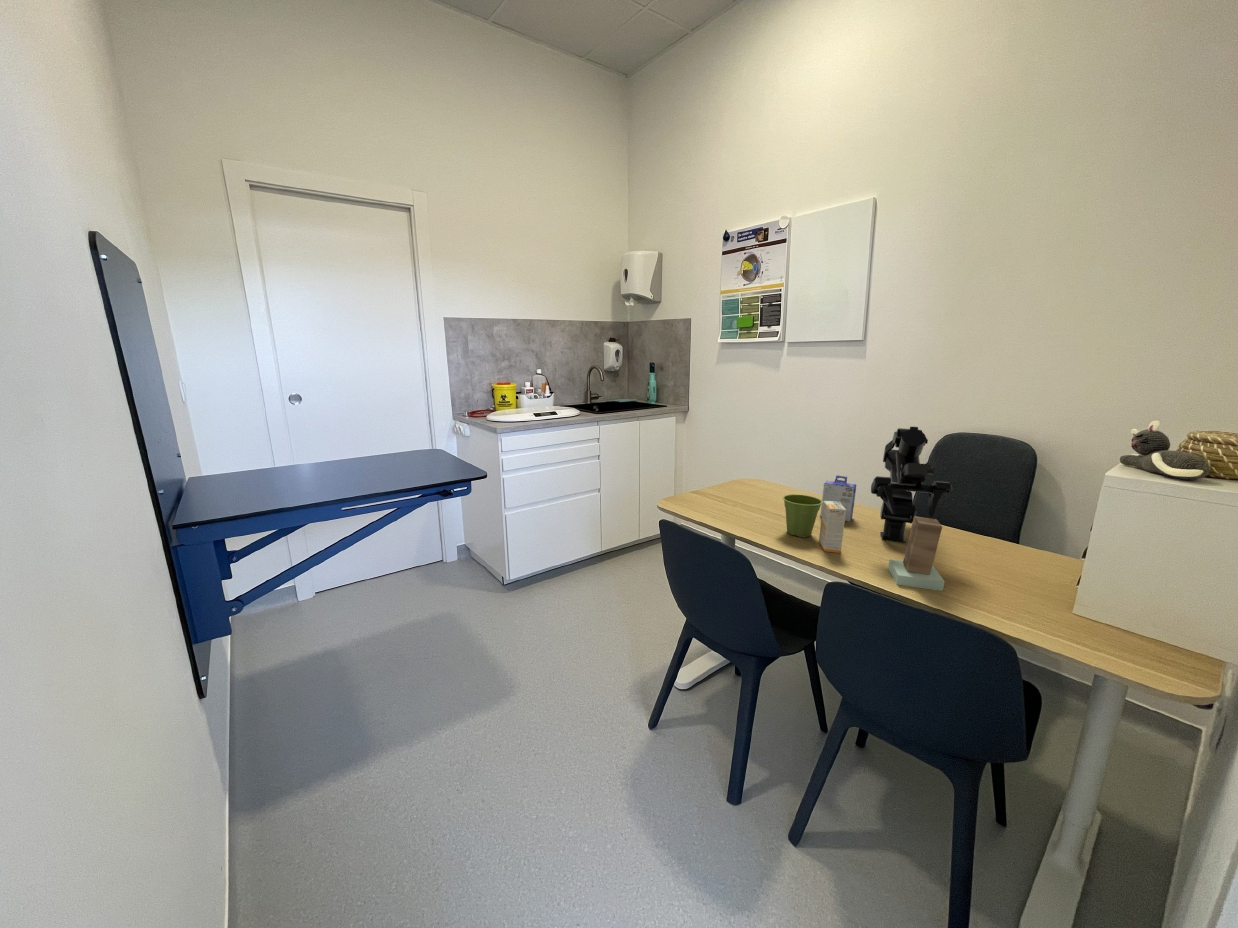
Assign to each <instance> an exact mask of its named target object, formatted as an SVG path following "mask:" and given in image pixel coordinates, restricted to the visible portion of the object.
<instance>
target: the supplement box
mask: <svg viewBox="0 0 1238 928" xmlns="http://www.w3.org/2000/svg"><path fill="white" fill-rule="evenodd" d="M845 515H846V509H845V508H844V507H843V506H842V504H841V503H840V502H836V501H823V510H822V516H821V518H820V519H821V521H820V528H819V537H818V543H819V545H820V546H821V548H822V550H823V552H828V553H837V554H838V553H839V554H840V553H841V552H842V546H843V538H844V537H843V536H844V529H845V522H846V521H845Z"/></svg>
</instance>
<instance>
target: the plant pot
mask: <svg viewBox="0 0 1238 928" xmlns="http://www.w3.org/2000/svg"><path fill="white" fill-rule="evenodd" d="M782 500H783V501H784V507H785V519H786V520H785V521H786V524H785V525H786V531H787V533H788V534H789V535H790V536H797V537H799V538H807V537H810V536H811V535H812V534H813V530H814V527H815V523H816V520H817V516H818V513H819V511H820V510H821V505H822V504H823V501H822V498H819V497H816V496H812V495H806V494H798V493H797V494H796V493H792V494H785V495H783V496H782Z"/></svg>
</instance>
